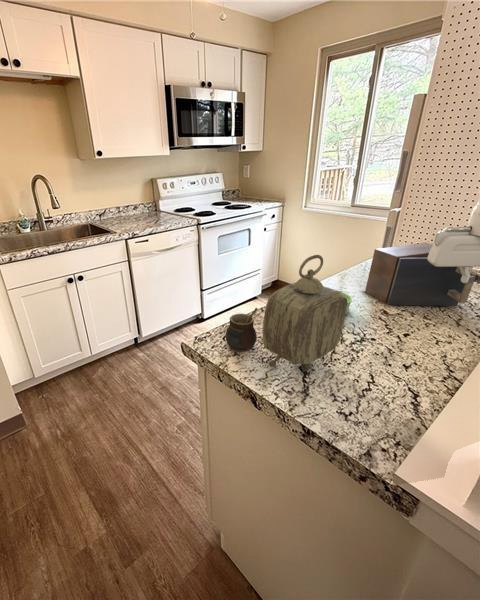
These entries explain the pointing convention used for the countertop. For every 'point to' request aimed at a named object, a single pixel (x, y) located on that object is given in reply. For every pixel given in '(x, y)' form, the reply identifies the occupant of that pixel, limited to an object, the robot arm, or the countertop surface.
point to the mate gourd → (241, 332)
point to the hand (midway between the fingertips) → (472, 282)
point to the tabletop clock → (304, 319)
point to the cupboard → (390, 267)
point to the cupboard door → (427, 284)
